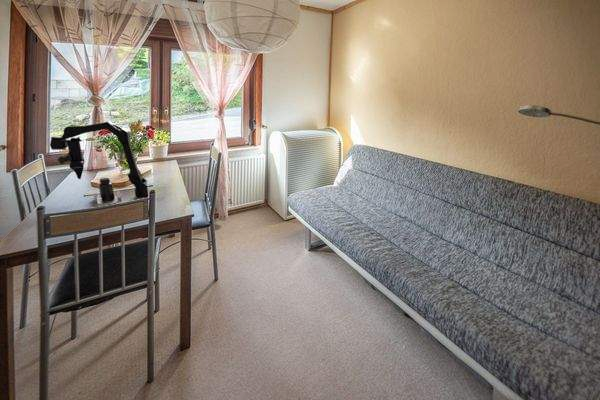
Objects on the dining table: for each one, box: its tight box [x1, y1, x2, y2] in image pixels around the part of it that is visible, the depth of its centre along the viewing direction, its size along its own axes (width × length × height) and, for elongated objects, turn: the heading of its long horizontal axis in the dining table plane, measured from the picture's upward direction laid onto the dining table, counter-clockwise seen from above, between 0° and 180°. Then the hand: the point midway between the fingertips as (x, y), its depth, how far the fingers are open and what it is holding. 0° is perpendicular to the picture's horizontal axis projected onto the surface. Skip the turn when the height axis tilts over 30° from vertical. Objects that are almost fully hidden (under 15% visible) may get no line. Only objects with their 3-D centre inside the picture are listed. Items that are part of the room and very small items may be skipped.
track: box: [93, 190, 123, 207], centre depth 191 cm, size 13×14×4 cm
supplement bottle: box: [98, 177, 115, 201], centre depth 190 cm, size 7×7×12 cm
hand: (79, 177), depth 190 cm, fingers open, 9 cm apart
